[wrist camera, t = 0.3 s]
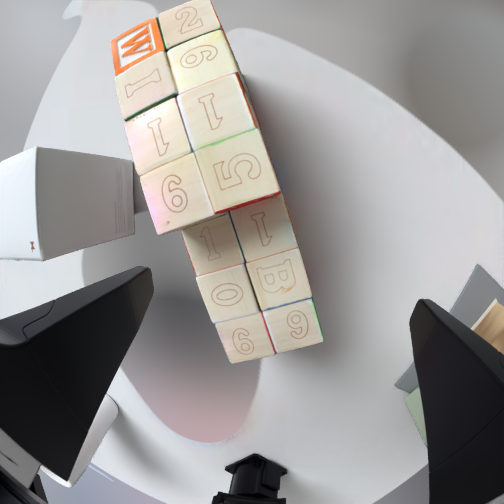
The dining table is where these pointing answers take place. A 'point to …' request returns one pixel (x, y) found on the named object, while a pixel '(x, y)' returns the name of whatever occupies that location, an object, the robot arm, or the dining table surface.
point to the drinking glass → (90, 441)
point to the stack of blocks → (214, 179)
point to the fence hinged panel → (417, 411)
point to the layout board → (465, 312)
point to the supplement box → (62, 202)
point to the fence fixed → (493, 327)
